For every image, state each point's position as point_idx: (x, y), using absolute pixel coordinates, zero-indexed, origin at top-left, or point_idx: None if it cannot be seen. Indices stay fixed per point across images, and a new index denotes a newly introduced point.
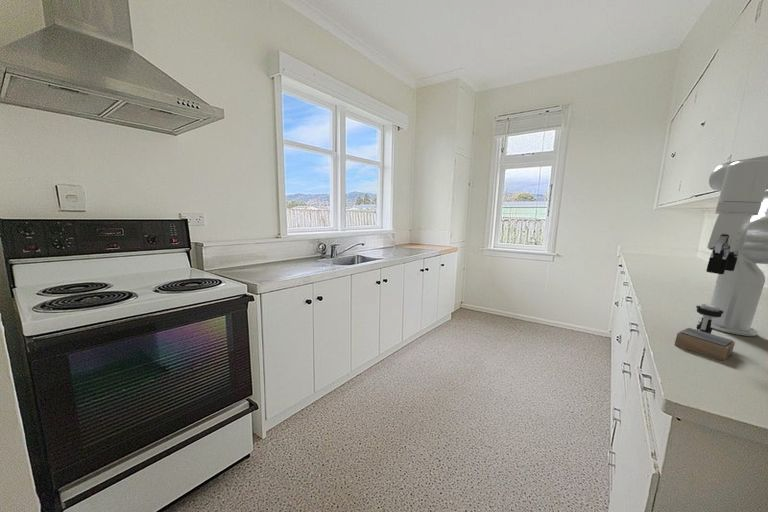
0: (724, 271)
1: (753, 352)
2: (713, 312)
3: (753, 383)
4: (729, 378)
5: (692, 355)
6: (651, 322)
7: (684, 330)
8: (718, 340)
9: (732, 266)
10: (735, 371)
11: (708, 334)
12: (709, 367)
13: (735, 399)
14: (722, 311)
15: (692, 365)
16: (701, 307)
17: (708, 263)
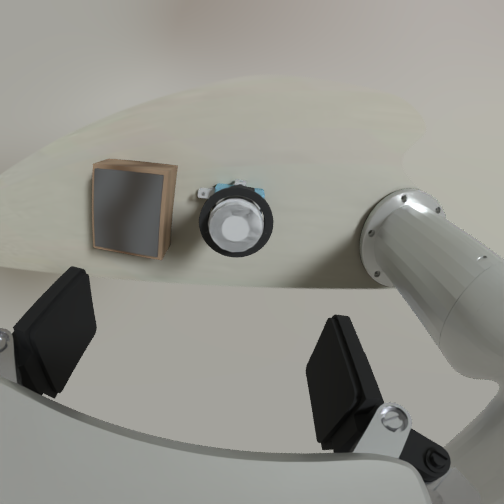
0: (87, 341)
1: (237, 276)
2: (201, 233)
3: (59, 266)
4: (44, 244)
5: (81, 194)
6: (268, 83)
7: (119, 172)
8: (118, 235)
9: (310, 387)
10: (78, 250)
11: (147, 216)
12: (55, 221)
13: (3, 249)
14: (242, 254)
15: (39, 203)
16: (224, 202)
17: (42, 298)
